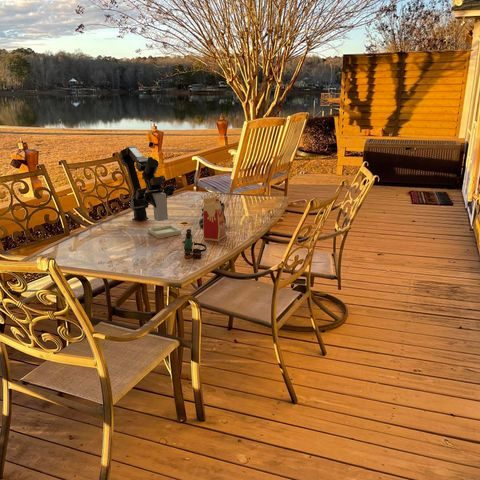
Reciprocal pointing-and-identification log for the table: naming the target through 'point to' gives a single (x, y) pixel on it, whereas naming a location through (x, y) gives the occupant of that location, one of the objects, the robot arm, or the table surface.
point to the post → (160, 206)
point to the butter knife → (171, 254)
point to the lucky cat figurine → (203, 214)
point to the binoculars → (189, 244)
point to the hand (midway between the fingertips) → (161, 206)
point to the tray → (164, 231)
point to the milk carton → (213, 220)
